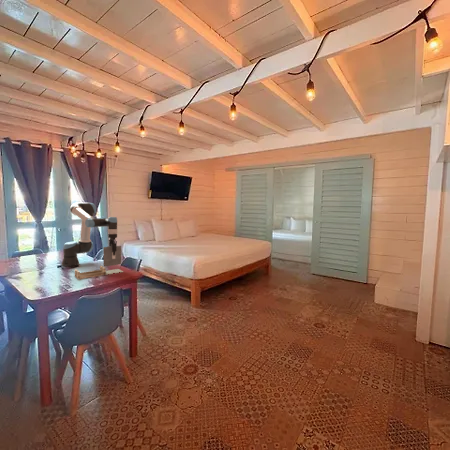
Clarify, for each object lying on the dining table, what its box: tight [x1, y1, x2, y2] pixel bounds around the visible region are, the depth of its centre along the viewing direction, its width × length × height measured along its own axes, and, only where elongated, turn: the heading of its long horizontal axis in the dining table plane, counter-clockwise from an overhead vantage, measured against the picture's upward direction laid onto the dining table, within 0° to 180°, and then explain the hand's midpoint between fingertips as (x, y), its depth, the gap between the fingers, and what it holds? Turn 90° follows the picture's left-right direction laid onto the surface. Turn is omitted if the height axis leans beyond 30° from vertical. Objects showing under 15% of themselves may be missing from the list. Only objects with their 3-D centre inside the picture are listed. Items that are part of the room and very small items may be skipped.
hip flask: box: [102, 245, 122, 267], centre depth 224 cm, size 16×4×20 cm, turn 136°
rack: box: [74, 265, 107, 280], centre depth 212 cm, size 10×22×6 cm, turn 135°
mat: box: [106, 268, 124, 275], centre depth 225 cm, size 12×15×1 cm
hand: (112, 258), depth 224 cm, fingers closed on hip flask, 4 cm apart
